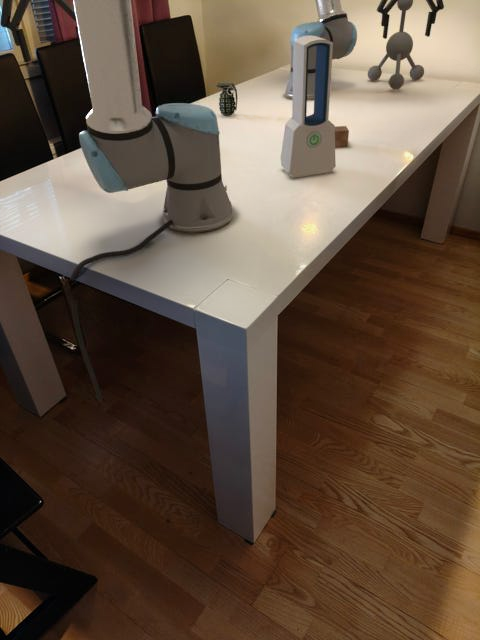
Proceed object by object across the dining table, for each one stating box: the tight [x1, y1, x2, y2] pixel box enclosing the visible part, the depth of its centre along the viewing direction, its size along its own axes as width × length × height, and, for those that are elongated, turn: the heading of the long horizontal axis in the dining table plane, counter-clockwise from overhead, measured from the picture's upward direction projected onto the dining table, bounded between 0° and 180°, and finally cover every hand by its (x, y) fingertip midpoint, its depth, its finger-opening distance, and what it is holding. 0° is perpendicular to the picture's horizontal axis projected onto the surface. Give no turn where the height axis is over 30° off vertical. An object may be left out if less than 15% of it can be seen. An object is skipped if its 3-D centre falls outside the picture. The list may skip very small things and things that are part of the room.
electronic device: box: [280, 35, 336, 179], centre depth 117 cm, size 12×8×30 cm, turn 105°
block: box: [335, 125, 350, 149], centre depth 139 cm, size 4×4×5 cm
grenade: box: [215, 82, 238, 117], centre depth 166 cm, size 7×6×10 cm
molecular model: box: [367, 0, 425, 91], centre depth 184 cm, size 24×22×30 cm
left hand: (56, 59), depth 115 cm, fingers open, 13 cm apart
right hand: (405, 37), depth 158 cm, fingers open, 13 cm apart
